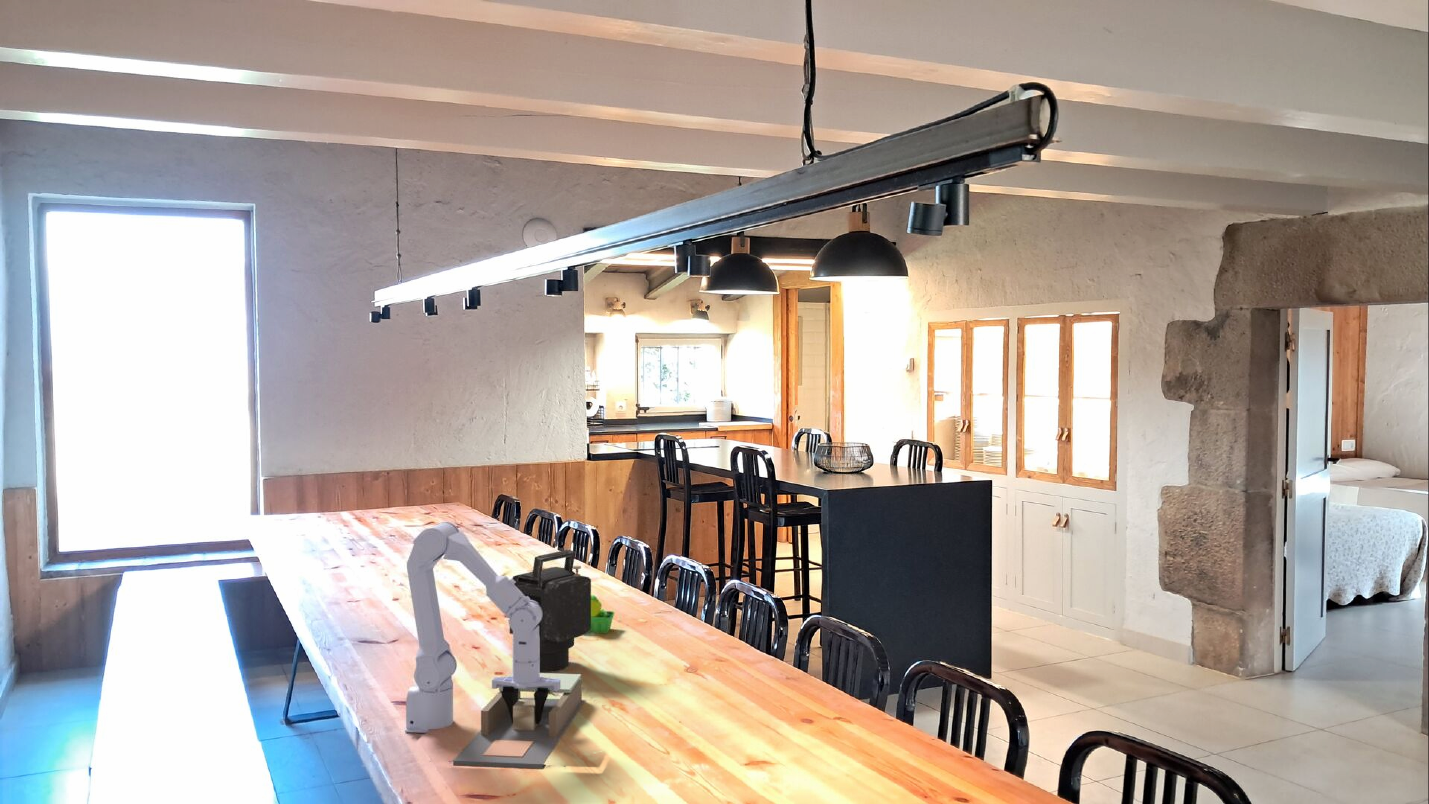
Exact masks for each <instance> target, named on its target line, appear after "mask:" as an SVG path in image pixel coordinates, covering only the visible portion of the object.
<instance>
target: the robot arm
mask: <svg viewBox="0 0 1429 804" xmlns="http://www.w3.org/2000/svg"><path fill="white" fill-rule="evenodd" d="M441 559H443V560H449V561H456V562H460V563H461V564H462V565H463V567H465V568H466V569H467V570H468V571H469V572H470V573H471V574H472V576H474V577H476V578H477V580H479V581H480V582H481V583H482V584H483V585H484V586H485V592H486V593H485V594H486V596H487V598H489V600H490V601H491V602H492V603H493V604H494V605H495V606H496V607H497V608H498V609H499V611H501V613H502V614H503V615H504V616H505V617H507V618H508V624H509V625H508V626H509V629H510V628H511V629H512V630H513V634H512V673H513V676H511V677H509V676H496V677H494V678H492V680H491V690H494V689H495V690H497V689H499V688H503V692H502V693H501V694H502V697H503V699H504V701H505V702H506V704H507V707H508V709H509V712H510V716H511V720H512V723H513V706H514V705H515V703H516V702H517V701H518V691H519V689H537V691H536V692H533V698H534V700H535V724H539V723H540V721H541V716H542V711H543V707H544V704H545V701H546V699H548V697H549V694H550V693H549V692H550V690H554V691H559V689H560V679H551V678H545V677H540V637H539V625H538V624H539V623H540V621H541V619H542V609H541V607H540V606H539V604H538V603H537V602H536V601H533V600H530V598H529V597H528V596H527V597H526V596H524V594H523V593H522V592H521V591H520V590H519V589H518V588H517V587H516V586H515V585H514V584H515V583H516V582H515V581H514V580H513V579H512V578H513V577H511V578H510V579H509V577H508V576H505V575H498V574H497V572H495V570H494V569H493V568H492V567H491V565H489V563H488V562H487V560H485V558H484V557H483V556H482V554H480V553H479V552H478V551H477V549H476V548H475V547H474V545H473V544H472V543H471V541H470V540H469V539H468V537H467V535H466V534H465V533H464V532H462V531H461V530H460V529H459V527H457V525H456V524H454V523H453V522H450V521H442V522H439V523H438V524H437V525H434V526H431V527H428V528H425V529H423V530H422V531H421V532H420V533H419V534H418V535H417V536H415V539H413V545H412V549H411V552H410V554H409V557H408V558H407V562H406V570H407V577H408V578H407V579H408V582H409V583H408V584H409V590H410V591H409V592H410V596H411V602H412V609H413V615H414V621H415V622H414V623H415V627H416V633H417V639H418V648H417V653H416V654H415V664H416V665H415V670H414V671H413V672H414V673H413V679H414V682H415V683H416V685H412V686H410V687H409V689H408V691H407V694H406V699H405V700H406V701H405V721H406V722H405V723H406V724H405V725H406V726H405V729H404V732H405V733H422V734H423V733H424V734H426V733H428V731H430V730H435V729H443V728H446V727H449V726H451V725H452V724H454V682H453V679H452V676H454V674H455V672H456V671H457V666H458V664H457V659H456V657H455V655H454V654H453V652H452V651H451V645H450V644H449V642H448V641H447V640H446V639H445V635H444V629H443V624H442V617H441V611H440V604H439V597H438V591H437V586H436V579H435V578H436V577H435V573H434V568H435V566H436V565H437V564H438V563H439V562H440V560H441ZM537 625H538V626H537Z"/></svg>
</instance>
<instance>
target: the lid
mask: <svg viewBox="0 0 1429 804" xmlns="http://www.w3.org/2000/svg"><path fill="white" fill-rule="evenodd" d="M511 676H513V672H512V673H511V674H510V675H508V677H511ZM540 677H545V678H551V679H560V689H559V691H554V690H550V692H552V693H558V694H559V693H560V694H564V693H570V692H571V691H572V689H573V688H574V687H575V685H576V684H577V683H578V681H579V680H580V678H582V674H581V673H577V674H576V673H555V672H546V673H540ZM499 691H503V688H498V692H499ZM519 691H520V692H527V693H528V692H529V693H535V692H536V691H537V689H519ZM552 693H551V694H552Z"/></svg>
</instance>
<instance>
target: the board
mask: <svg viewBox="0 0 1429 804" xmlns="http://www.w3.org/2000/svg"><path fill="white" fill-rule="evenodd" d="M582 681H583V678H582V677H581V678H580V680H579V681H578V683H577V684H576V685H575V687H574V688H573V689H572V691H571V692H570V693H562V695H560V696H561V697H559V698H547V699H546V701H545V704H544V707H543V711H542V716H541V721H540V723H539V724H538V725H537V727H536V728H535V729H534V730H513V723H512V720H511V716H510V712H509V709H508V707H507V704H506V702H505V701H504V699H503V697H502V694H501V693H502V692H503V691H499V690H498V692H497V693H496V695H495V696H494V697H493V698H492V699H491V700H490V701H489V702H488V703H487V704H486V705H485V706H484V707H483V708H482V709H481V710H480V731H478V732H477V733H476V734H475V736H474V737H473V738H472V739H471V740H470V741H469V743H467V745H466V746H465V747H464V748H463V749H462V750H461V751H460V752H459V754H457V755H456V756H455V758H454V759H453V760H452V766H453V767H455V766H456V767H475V768H476V767H477V768H478V767H479V768H498V769H499V768H501V769H502V768H505V769H527V770H529V769H530V770H544V769H545V768H546V766H547V765H546V764H545V762H546V761H547V759H548V758H549V756H551V754H552V752H553V750H555V748H556V746H557V745H558V743H559V742H560V740H561V738H562V737H563V736H564V734H565V733H566V731H567V730H568V728H569V727H570V725H571V724H572V722H573V720H574V719H575V717H576V716H577V714H578V713H579V712H580V710H581V708H582V707H583V705H584V704H585V703H586V699H582V697H583V696H582V693H583V691H582V690H583V686H582V685H583V683H582ZM521 696H522V695H521V691H518V700H519V699H524V700H534V697H521Z"/></svg>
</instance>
